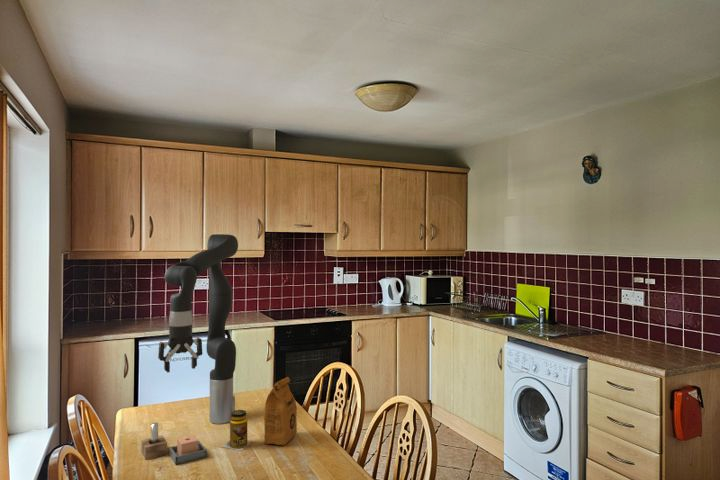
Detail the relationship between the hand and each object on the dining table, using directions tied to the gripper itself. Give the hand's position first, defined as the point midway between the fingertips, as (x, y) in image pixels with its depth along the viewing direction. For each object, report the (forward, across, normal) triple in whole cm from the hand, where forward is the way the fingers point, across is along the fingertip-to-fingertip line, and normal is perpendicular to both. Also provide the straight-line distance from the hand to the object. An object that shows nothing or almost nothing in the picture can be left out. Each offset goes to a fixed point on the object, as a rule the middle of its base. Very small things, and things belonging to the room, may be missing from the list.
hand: (180, 370), depth 169 cm
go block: (+28, +8, -3) cm, 29 cm away
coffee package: (+28, -33, +11) cm, 45 cm away
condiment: (+28, -18, +6) cm, 34 cm away
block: (+28, -1, +5) cm, 28 cm away
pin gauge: (+28, +8, -3) cm, 29 cm away
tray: (+28, -1, +6) cm, 29 cm away
